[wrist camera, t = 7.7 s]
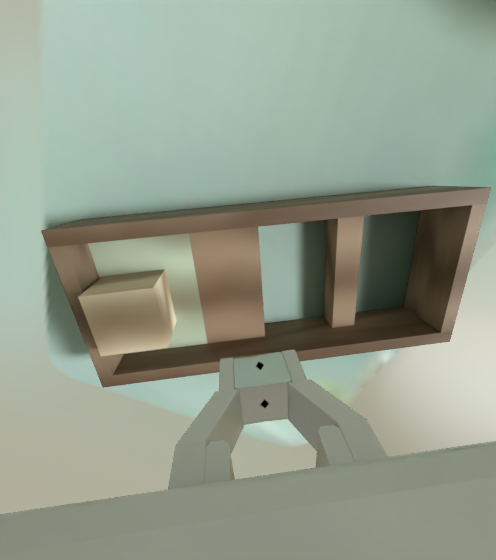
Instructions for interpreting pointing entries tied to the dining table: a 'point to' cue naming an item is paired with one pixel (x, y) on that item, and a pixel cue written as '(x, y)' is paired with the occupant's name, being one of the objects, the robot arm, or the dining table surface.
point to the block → (130, 312)
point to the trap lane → (248, 286)
